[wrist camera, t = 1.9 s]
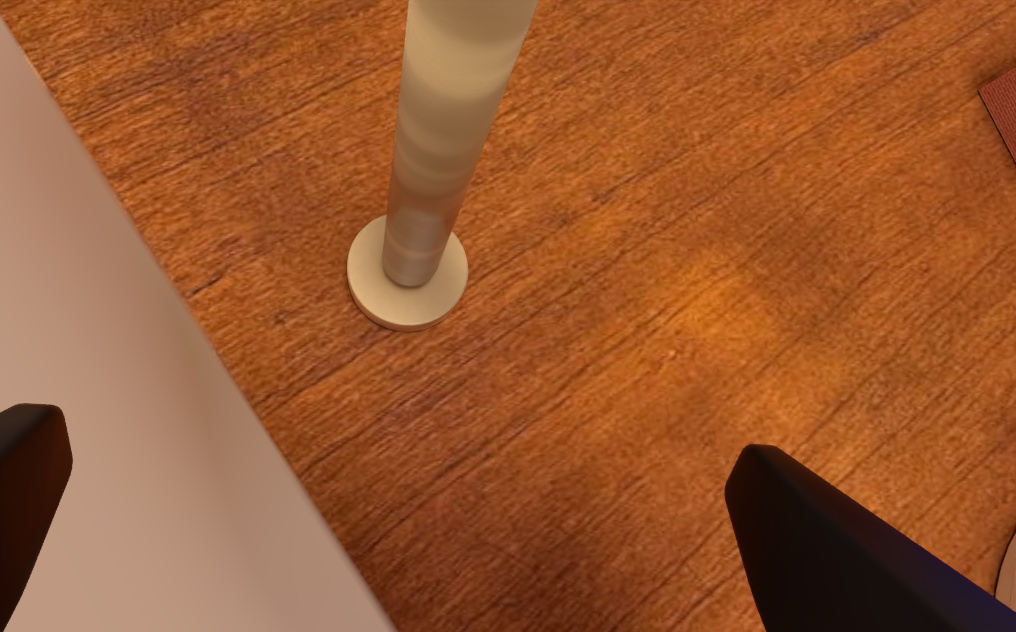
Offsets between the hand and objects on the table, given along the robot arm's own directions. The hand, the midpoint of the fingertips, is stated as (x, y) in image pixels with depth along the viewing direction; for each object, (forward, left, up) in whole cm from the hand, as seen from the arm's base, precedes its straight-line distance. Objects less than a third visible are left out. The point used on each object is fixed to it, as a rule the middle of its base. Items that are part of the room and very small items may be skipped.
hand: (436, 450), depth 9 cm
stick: (+4, +5, -13) cm, 14 cm away
